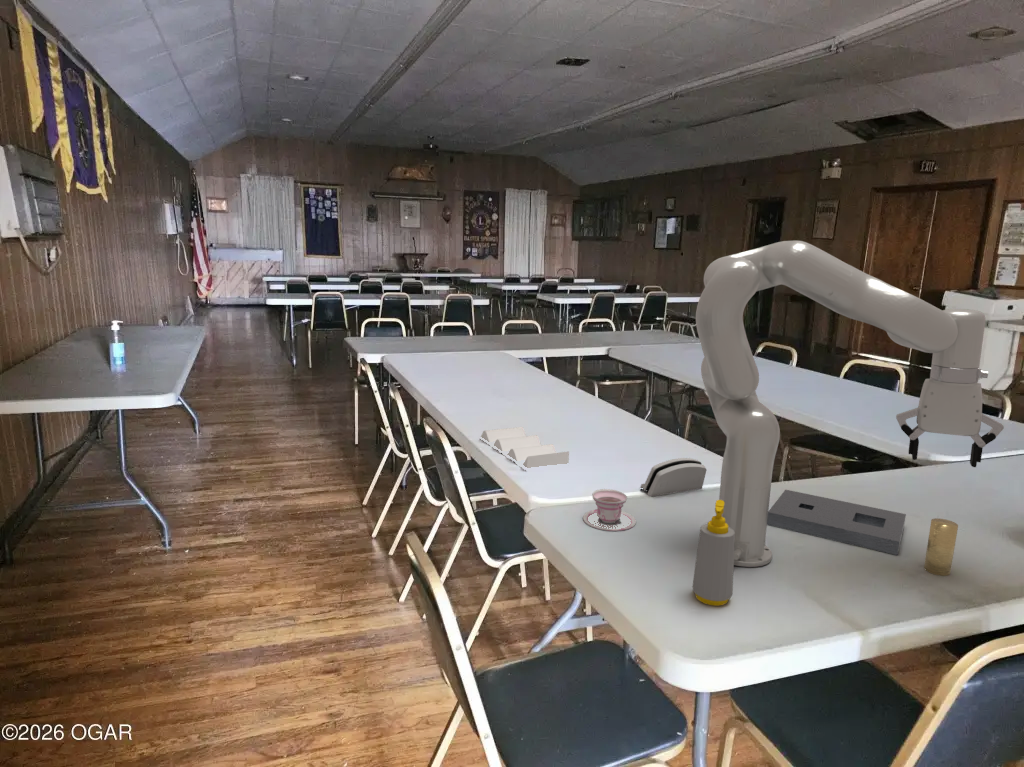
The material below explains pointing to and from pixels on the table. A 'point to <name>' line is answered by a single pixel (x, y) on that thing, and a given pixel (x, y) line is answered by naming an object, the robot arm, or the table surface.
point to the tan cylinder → (940, 547)
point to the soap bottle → (715, 560)
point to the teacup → (609, 509)
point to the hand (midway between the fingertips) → (943, 461)
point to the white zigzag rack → (525, 447)
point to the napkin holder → (675, 476)
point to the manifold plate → (838, 521)
